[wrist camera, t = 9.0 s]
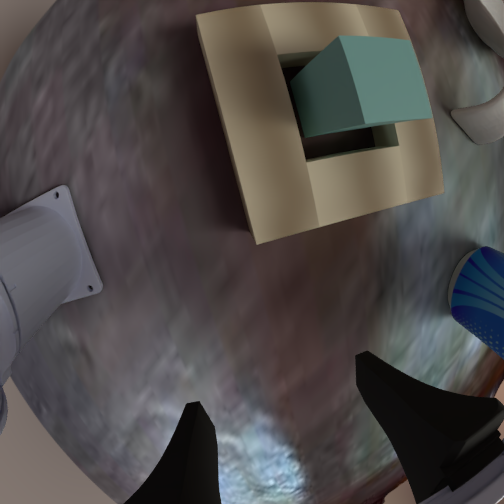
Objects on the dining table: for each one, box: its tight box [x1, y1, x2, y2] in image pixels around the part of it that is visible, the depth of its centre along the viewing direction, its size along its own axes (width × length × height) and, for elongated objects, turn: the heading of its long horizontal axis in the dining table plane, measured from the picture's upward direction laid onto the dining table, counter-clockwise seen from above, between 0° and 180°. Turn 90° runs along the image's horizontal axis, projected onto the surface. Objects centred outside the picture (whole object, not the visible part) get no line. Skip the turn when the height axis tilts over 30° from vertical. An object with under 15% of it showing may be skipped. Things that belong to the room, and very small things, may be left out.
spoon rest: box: [451, 0, 504, 145], centre depth 13 cm, size 24×12×7 cm, turn 156°
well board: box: [196, 2, 444, 244], centre depth 15 cm, size 14×14×3 cm
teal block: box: [290, 36, 433, 138], centre depth 13 cm, size 4×4×8 cm
